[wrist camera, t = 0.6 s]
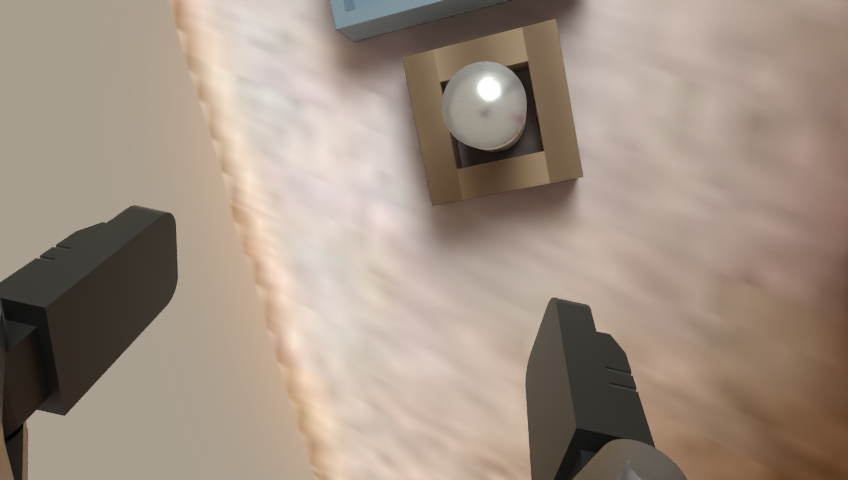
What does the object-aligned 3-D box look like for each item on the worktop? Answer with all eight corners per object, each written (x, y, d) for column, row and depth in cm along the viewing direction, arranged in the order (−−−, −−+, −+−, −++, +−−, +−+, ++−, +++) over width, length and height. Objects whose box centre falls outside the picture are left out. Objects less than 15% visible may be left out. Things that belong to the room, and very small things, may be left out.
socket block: (553, 30, 34) (555, 18, 31) (578, 175, 35) (583, 176, 32) (412, 65, 36) (402, 57, 33) (439, 202, 37) (432, 206, 34)
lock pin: (519, 81, 35) (518, 52, 26) (531, 144, 35) (533, 138, 26) (457, 95, 36) (434, 72, 27) (469, 157, 36) (450, 155, 27)
